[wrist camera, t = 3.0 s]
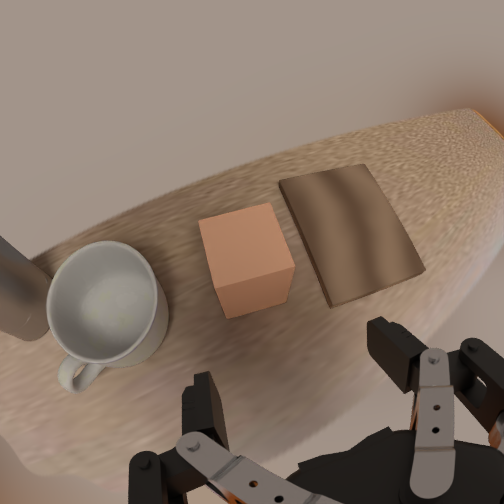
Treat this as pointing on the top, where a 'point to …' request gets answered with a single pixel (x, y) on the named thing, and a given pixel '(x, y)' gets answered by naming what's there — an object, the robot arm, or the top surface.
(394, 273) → the board
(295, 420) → the top surface
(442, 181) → the top surface
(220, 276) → the peach colored cube
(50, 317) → the teacup
